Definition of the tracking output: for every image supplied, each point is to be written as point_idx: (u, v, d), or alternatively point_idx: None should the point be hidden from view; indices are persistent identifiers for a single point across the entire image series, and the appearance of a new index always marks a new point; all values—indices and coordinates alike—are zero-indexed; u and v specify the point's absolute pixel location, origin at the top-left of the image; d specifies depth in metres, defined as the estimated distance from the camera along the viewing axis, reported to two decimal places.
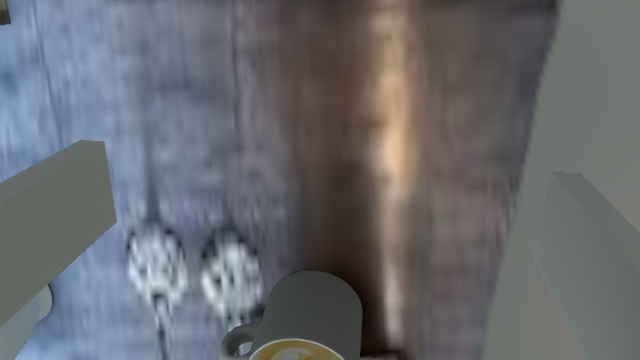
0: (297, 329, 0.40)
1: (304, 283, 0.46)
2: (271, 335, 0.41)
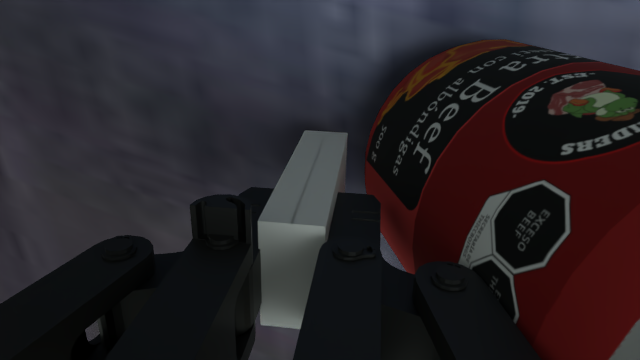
0: None
1: None
2: None
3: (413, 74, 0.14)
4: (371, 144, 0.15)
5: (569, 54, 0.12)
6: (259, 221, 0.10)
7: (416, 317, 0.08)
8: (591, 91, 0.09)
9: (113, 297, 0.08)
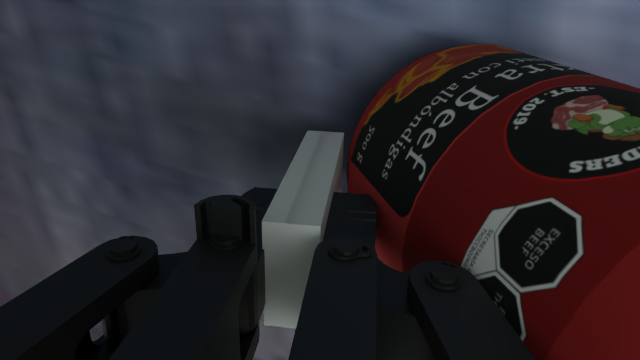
0: None
1: None
2: None
3: (402, 75, 0.14)
4: (356, 144, 0.14)
5: None
6: (263, 221, 0.10)
7: (410, 316, 0.08)
8: (594, 106, 0.09)
9: (117, 297, 0.08)
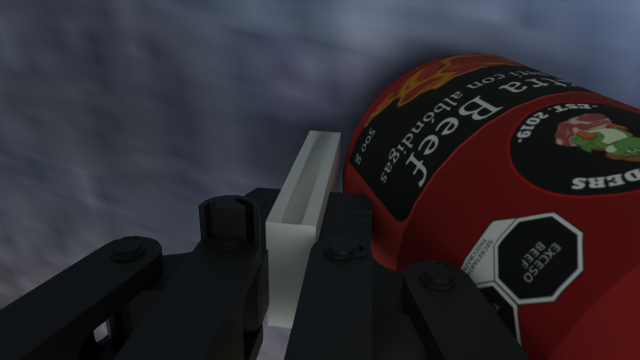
0: None
1: None
2: None
3: (406, 79, 0.14)
4: (356, 146, 0.14)
5: None
6: (267, 222, 0.10)
7: (404, 316, 0.08)
8: (597, 124, 0.09)
9: (121, 298, 0.08)
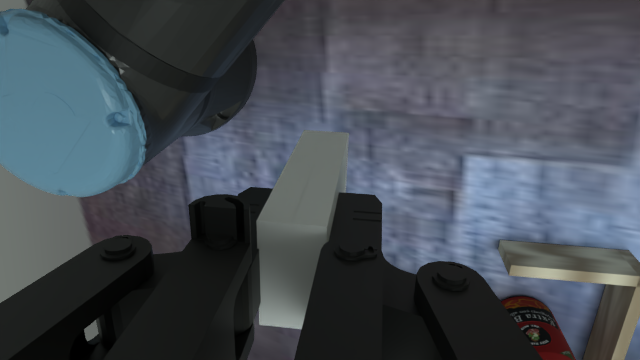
0: None
1: None
2: None
3: (507, 301, 0.54)
4: None
5: (544, 316, 0.51)
6: (258, 221, 0.10)
7: (418, 317, 0.08)
8: (535, 332, 0.49)
9: (112, 297, 0.08)
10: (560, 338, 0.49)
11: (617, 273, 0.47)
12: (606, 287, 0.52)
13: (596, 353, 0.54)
